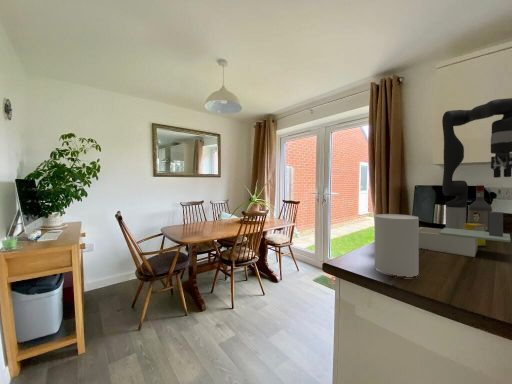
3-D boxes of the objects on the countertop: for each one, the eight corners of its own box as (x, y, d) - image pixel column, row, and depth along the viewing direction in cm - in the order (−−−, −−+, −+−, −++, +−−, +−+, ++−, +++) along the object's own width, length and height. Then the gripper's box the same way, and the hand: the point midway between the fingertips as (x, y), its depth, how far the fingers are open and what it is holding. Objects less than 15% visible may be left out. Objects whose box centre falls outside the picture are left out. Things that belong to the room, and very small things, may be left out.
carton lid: (438, 234, 103) (438, 211, 103) (444, 229, 114) (444, 208, 114) (510, 242, 87) (510, 214, 87) (509, 235, 98) (509, 211, 98)
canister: (420, 281, 72) (420, 220, 72) (373, 273, 79) (373, 217, 79) (416, 268, 83) (416, 215, 83) (376, 262, 91) (375, 213, 90)
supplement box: (475, 244, 115) (475, 223, 115) (485, 247, 109) (486, 225, 109) (462, 243, 116) (462, 223, 116) (472, 247, 110) (472, 225, 110)
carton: (413, 247, 111) (413, 231, 111) (420, 241, 122) (420, 227, 122) (474, 257, 95) (474, 238, 95) (477, 249, 106) (477, 232, 105)
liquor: (473, 230, 147) (474, 185, 146) (492, 233, 139) (493, 185, 138) (466, 232, 143) (467, 185, 142) (486, 234, 135) (486, 185, 134)
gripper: (484, 145, 111) (483, 177, 112) (499, 140, 99) (499, 177, 99) (504, 144, 108) (504, 177, 109) (523, 138, 95) (523, 176, 96)
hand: (502, 177), depth 104 cm, fingers open, 8 cm apart
